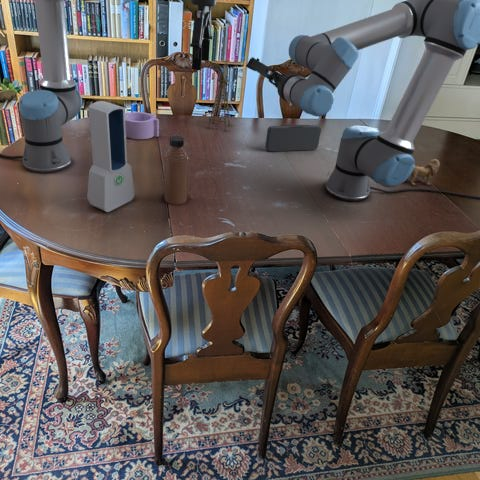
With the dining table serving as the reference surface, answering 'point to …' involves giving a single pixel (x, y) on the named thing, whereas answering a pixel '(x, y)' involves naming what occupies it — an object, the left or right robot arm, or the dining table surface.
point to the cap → (176, 141)
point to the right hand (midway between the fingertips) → (265, 75)
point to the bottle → (175, 175)
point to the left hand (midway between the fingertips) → (200, 65)
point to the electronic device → (109, 158)
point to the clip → (141, 125)
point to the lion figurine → (425, 171)
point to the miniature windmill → (222, 80)
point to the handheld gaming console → (292, 137)
